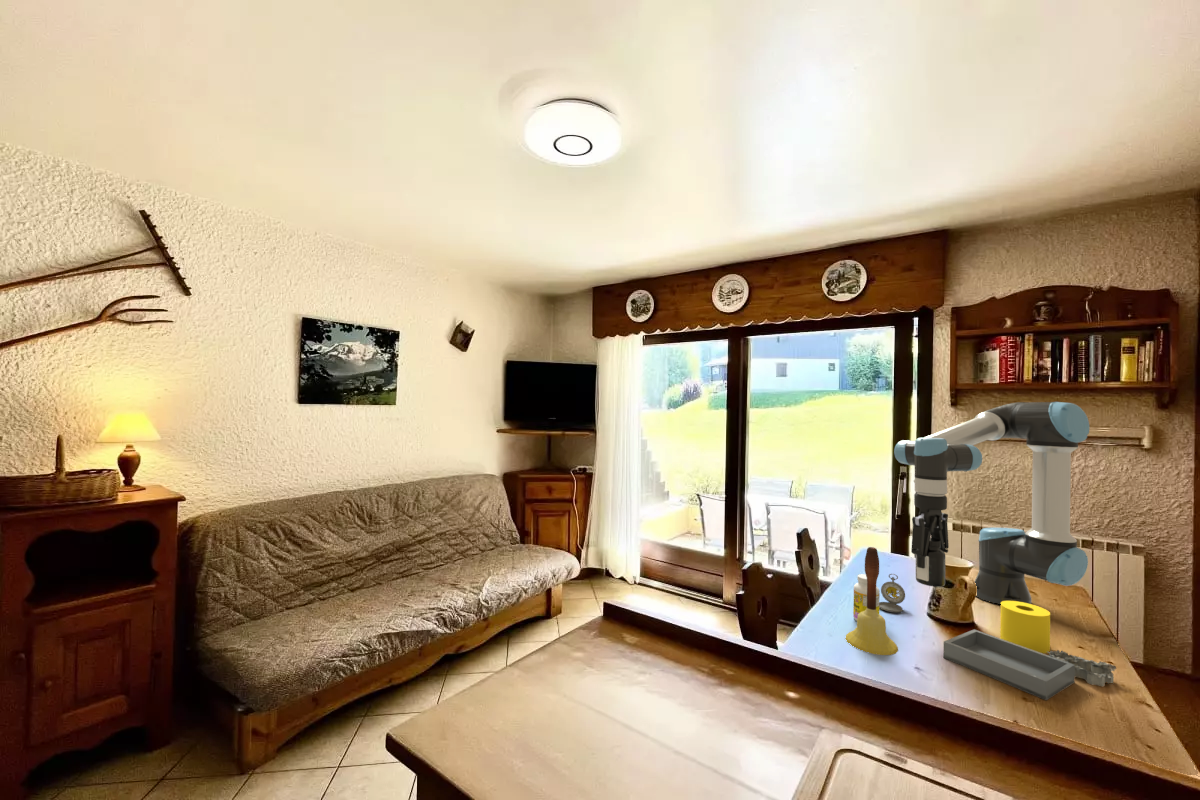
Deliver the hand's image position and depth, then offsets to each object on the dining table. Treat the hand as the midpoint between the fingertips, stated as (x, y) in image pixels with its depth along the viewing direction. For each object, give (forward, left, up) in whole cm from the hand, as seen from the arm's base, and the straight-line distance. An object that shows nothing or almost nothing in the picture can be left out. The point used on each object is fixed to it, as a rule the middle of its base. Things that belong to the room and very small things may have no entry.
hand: (930, 577), depth 136 cm
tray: (+4, +19, -16) cm, 25 cm away
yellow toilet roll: (-17, +15, -16) cm, 27 cm away
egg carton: (-10, +28, -16) cm, 34 cm away
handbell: (+20, -4, -16) cm, 26 cm away
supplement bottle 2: (0, 0, -2) cm, 2 cm away
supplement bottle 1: (+8, -13, -16) cm, 22 cm away
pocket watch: (-8, -15, -16) cm, 23 cm away
